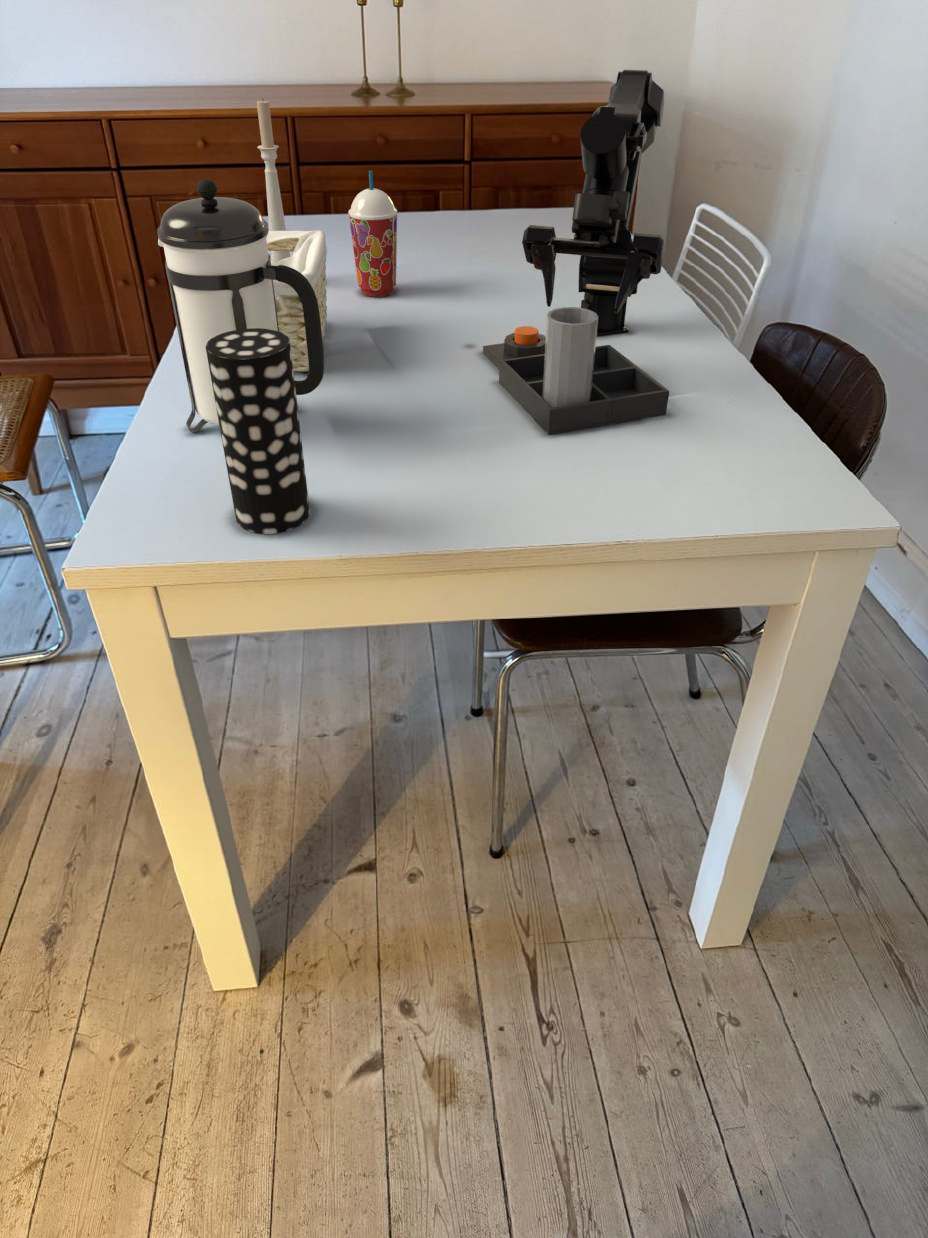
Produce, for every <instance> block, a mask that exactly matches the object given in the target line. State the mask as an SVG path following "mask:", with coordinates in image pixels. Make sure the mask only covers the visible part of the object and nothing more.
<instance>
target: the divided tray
mask: <svg viewBox="0 0 928 1238" xmlns="http://www.w3.org/2000/svg"><path fill="white" fill-rule="evenodd" d="M544 358H545V354H540V355H533V356H526V357H519V358H512V359H505V360H500V361H499V369H498V371H499V372H498V384H499V385H500V386H501V387H502V388H503V389H504V390H505V391H506V392H507V393H508V394H509V395H510V396H511V397H512V398H513V399H514V400H515V401H516V402H517V403H518V405H520V406H521V408H522V409H524V410H525V412H526V413H527V414H529V415H530V417H531V418H532V419H533V420H534V421H535V423H536V424H537V425H538V426H539V427H540V428H541V429H542V430H543V431H544V432H545V433H546V434H547V435H554V434H560V433H567V432H573V431H577V430H584V429H591V428H597V427H603V426H609V425H614V424H621V423H627V422H632V421H639V420H644V419H650V418H657V417H662V416H667V412H668V411H667V410H668V403H669V399H670V398H669V397H670V390H669V389H668V388H667V387H665V386H664V385H663V384H662V383H660V382H659V381H657V380H656V379H654V378H653V377H652V376H651V375H649V374H648V373H647V372H645V371H644V370H643V369H642V368H640V366H638V365H636V363H634V362H633V361H632V360H630V359H628V358H627V357H626V356H625V355H624V354H622V353H621V352H620V351H618V350H617V349H616V348H614V347H613V346H612V345H610V344H605V345H599V346H598V345H597V346H596V348H595V359H594V369H593V380H592V391H591V402H585V403H579V404H573V405H566V406H560V407H554V408H552V407H551V406H550V405H549V404H548V403H547V402H546V401H545V400H544V399H543V398H542V393H543V375H544Z"/></svg>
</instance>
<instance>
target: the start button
mask: <svg viewBox="0 0 928 1238" xmlns="http://www.w3.org/2000/svg"><path fill="white" fill-rule="evenodd" d="M539 332H540V331H539V328H537V327H534V326H530V325H529V326H526V325H524V326H518V327H516V328H515V329H514V333H515V339H514V341H515V343H518V344H521V345H532V344H537V343H538V335H539V334H540V333H539Z"/></svg>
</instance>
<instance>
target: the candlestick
mask: <svg viewBox="0 0 928 1238" xmlns="http://www.w3.org/2000/svg"><path fill="white" fill-rule="evenodd" d="M256 109H257V117H258V124H259V133H260V141H261V144H260V145H258V146H257V149H258V150H259V151H260V153H261V154H260V158H261V159H262V160H263V162H264V164H265V169H264V174H265V189H266V190H265V191H266V201H267V202H266V203H267V214H268V215H267V216H268V229H269V231H287V227H286V221H285V220H286V219H285V215H284V214H285V213H284V208H283V201H282V196H281V190H280V189H281V188H280V183H279V178H278V177H279V176H278V169H277V168H276V160H277V158H278V154H277V150H278V148H280V146H279V145H277V144H274V135H273V124H272V115H271V108H270V101H268V100H264V98H262V100H258V101H256ZM291 256H292V255H291V252H288V251H270V257H271V263H275V262H278V261H280V260H283V259H286V258H288V257H291Z"/></svg>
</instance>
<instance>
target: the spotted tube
mask: <svg viewBox="0 0 928 1238" xmlns="http://www.w3.org/2000/svg"><path fill="white" fill-rule="evenodd" d="M206 352H207V358H208V364H209V369H210V375H211V381H212V386H213V392H214V398H215V403H216V409H217V415H218V420H219V426H218V427H219V432H220V436H221V442H222V448H223V453H224V459H225V465H226V471H227V477H228V483H229V488H230V493H231V499H232V504H233V510H234V516H235V521H236V523H237V525H238V526H239V527H240V528H242V529H243V530H245V531H247V532H250V533H253V534H259V535H260V534H262V535H272V534H273V535H274V534H281V533H285V532H289V531H292V530H294V529H296V528H299V527H300V526H302V525H303V524H304V523H306V522H307V520H308V518H309V517H310V514H311V508H310V501H309V491H308V483H307V474H306V466H305V459H304V457H305V456H304V449H303V442H302V441H303V440H302V434H301V433H302V432H301V424H300V415H299V409H298V400H297V399H298V398H297V395H296V389H295V381H296V380H295V373H294V372H295V371H294V372H293V364H292V355H291V347H290V339H289V338H288V336H287V335H285V334H284V333H281V332H279V331H275V330H270V329H261V328H249V329H239V330H233V331H228V332H225V333H222V334H219V335H217V336H215V337H213V338H211V339H210V340H209V341H208V342H207V344H206ZM294 380H295V381H294Z"/></svg>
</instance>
